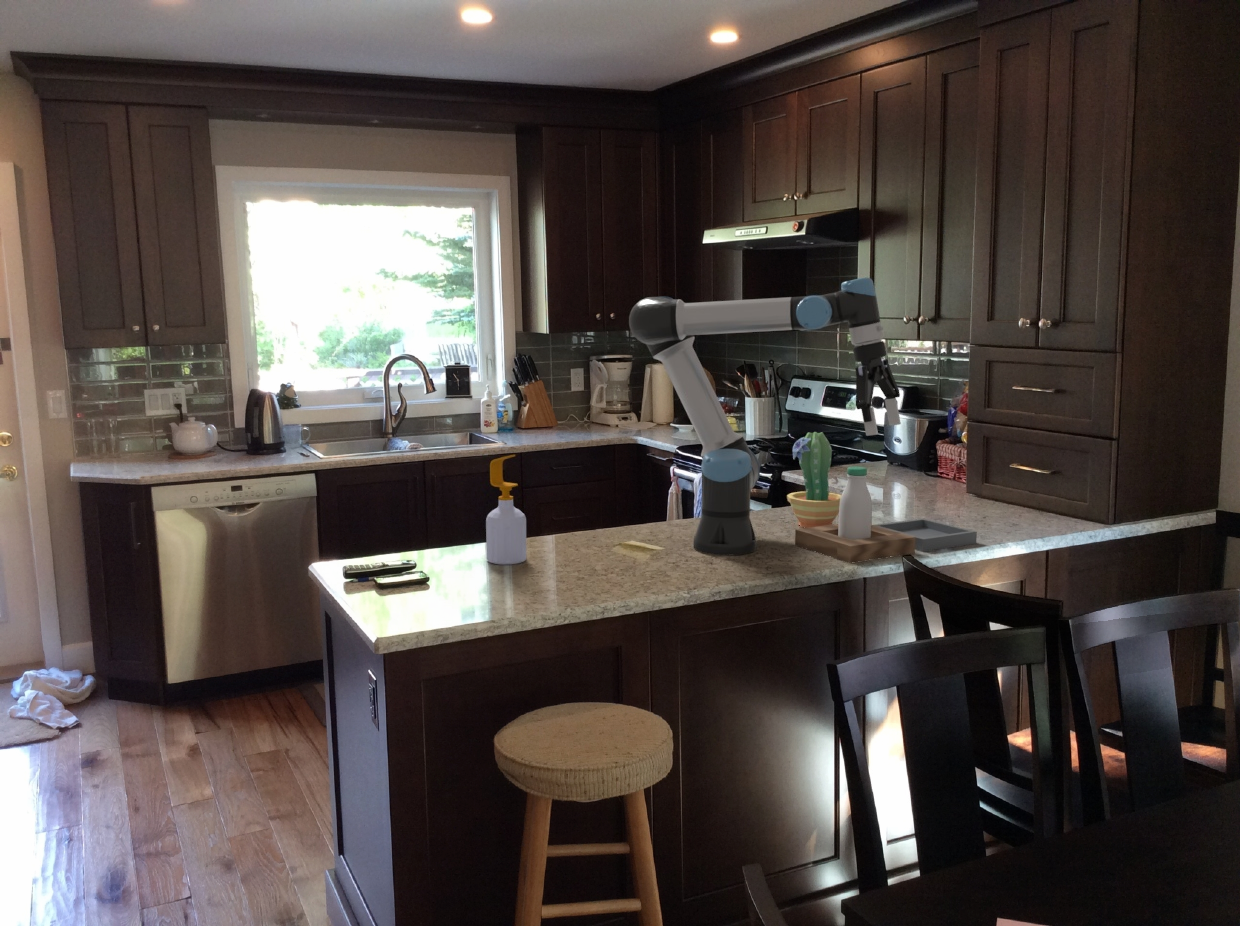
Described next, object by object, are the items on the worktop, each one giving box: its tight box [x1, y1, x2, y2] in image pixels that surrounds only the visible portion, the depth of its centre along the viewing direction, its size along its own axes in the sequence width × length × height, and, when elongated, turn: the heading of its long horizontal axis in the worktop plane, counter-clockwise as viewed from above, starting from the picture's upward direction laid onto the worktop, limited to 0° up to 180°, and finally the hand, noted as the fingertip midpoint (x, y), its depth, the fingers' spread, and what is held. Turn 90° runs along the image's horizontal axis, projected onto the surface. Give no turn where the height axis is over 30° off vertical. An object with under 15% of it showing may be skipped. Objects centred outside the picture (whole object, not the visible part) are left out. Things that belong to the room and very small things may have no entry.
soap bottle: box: [485, 454, 527, 566], centre depth 240 cm, size 9×9×25 cm
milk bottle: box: [838, 466, 873, 540], centre depth 253 cm, size 8×8×20 cm
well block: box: [794, 523, 916, 564], centre depth 254 cm, size 20×20×4 cm
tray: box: [872, 518, 978, 552], centre depth 264 cm, size 18×18×3 cm
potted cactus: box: [786, 431, 842, 528], centre depth 279 cm, size 15×15×25 cm
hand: (883, 430), depth 254 cm, fingers open, 13 cm apart
